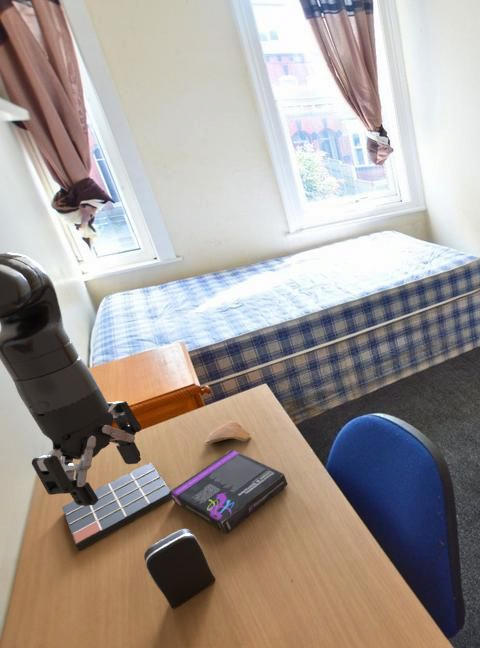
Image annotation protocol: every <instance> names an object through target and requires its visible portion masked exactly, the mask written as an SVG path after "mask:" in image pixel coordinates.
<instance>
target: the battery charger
mask: <svg viewBox="0 0 480 648" xmlns="http://www.w3.org/2000/svg"><path fill="white" fill-rule="evenodd" d="M144 561H145V562H144V563H145V567H146V570H147V572H148V574H149V576H150V577H151V579H152V581H153V582H154V584H155V585H156V586H157V588H158V589H159V591H160V592H161V594H162V595H163V597H164V598H165V600H166V602H167V603H168V605H169V607H170V608H171V609H175V608H177V607H178V606H180V605H182V604H184V603H185V602H186V601H188V600H190V599H191V598H192V597H195V596H196V595H198V594H199V593H200V592H201V591H203V590H205V589H206V588H208V587H209V586H210V585H212V584H213V583H215V582H216V575H215V574H214V572H213V570H212V568H211V566H210V564H209V562H208V559H207V556H206V554H205V552H204V549H203V548H202V546H201V544H200V542H199V540H198V538H197V537H196V536H195V534H194V533H193V532H192V531H191V530H190V529H188V528H181V529H178V530H176V531H175V532H173V533H171V534H169V535H167V536H166V537H163V538H162V539H160V540H159V541H157V542H155V543H153V544H152V545H150V546H149V547H147V549H146V550H145V552H144Z"/></svg>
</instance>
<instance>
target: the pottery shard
mask: <svg viewBox="0 0 480 648" xmlns="http://www.w3.org/2000/svg"><path fill="white" fill-rule="evenodd" d="M229 439H233V440H238V441H241V442H243V443H246V442H247V441H249V440H250V439H252V435H251V433H249V432H248V431H247V430H246V429H245V428H244V427H242V425H241V424H240V423H239V421H235V420H230V421H227V422H226V423H224V424H222V425H221V426H219V427H216V428H215V429H214V430H212V431H211V432H210V433H209V434H208V436H207V438H206V439H205V444H207V445H210V444H212V443H217V442H222V441H225V440H229Z"/></svg>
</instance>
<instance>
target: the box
mask: <svg viewBox="0 0 480 648" xmlns="http://www.w3.org/2000/svg"><path fill="white" fill-rule="evenodd" d="M286 478H287V477H286V476H285V473H283V472H281V471H279V470H276V469H274V468H272V467H270V466H268V465H266V464H264V463H261V462H259V461H258V460H256V459H253V458H251V457H249V456H247V455H244V454H242V453H241V452H238V451H236V450H234V449H230V450H228V451H227V452H226V453H225V454H223V455H222V456H220V457H219V458H217V459H216V460H214V461H213V462H211V463H210V464H208V465H207V466H205V467H204V468H202V469H201V470H200V471H197V473H195V474H194V475H192V476H191V477H189V478H188V479H186V480H185V481H184V482H182V483H180V484H179V485H177V486H176V487H174V488H172V489H170V490H171V491H170V492H169V493H170V495H171V497H172V501H173V502H174V503H175V504H177V505H178V506H180V507H182V508H184V509H186V510H187V511H188V512H189V513H192V514H194V515H195V516H197V517H199V518H200V519H201V520H203V521H205V522H207V523H209V524H210V525H212V526H213V527H214V528H216V529H218V530H220V531H222V532H223V533H225V534H226V535H227V534H228V533H230V532H231V531H232V530H234V528H236V527H237V526H238V525H239V524H240V523H242V522H243V521H244V520H245V519H247V518H248V517H249V516H250V515H252V514H253V513H254V512H256V511H257V510H258V509H260V507H262V506H263V505H264V504H265V503H267V502H268V501H270V499H272V498H273V497H274V496H276V494H278V493H279V492H280V491H281V490H283V489H284V488H286V487H287V486H288V481H287V479H286Z"/></svg>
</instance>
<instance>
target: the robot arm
mask: <svg viewBox="0 0 480 648" xmlns="http://www.w3.org/2000/svg"><path fill="white" fill-rule="evenodd" d="M63 321H64V320H63V314H62V310H61V307H60V303H59V299H58V294H57V291H56V288H55V285H54V282H53V281H52V278H51V277H50V275H49V274H48V272H47V271H46V270H45V269H44V267H43V266H42V265H40V264H39V263H38V262H36V261H35V260H34V259H32V258H30V257H28V256H26V255H24V254H23V255H22V254H19V253H13V252H12V253H11V252H5V253H0V362H1V363H2V364H3V366H4V367H5V369H6V371H7V373H8V374H9V376H10V378H11V379H12V381H13V383H14V385H15V389H16V391H17V393H18V395H19V397H20V400H22V402H23V404H24V406H25V407H26V409H27V410H28V412H29V414H30V415H31V416H32V418H33V420H34V422H35V423H36V425H37V427H38V428H39V430H40V431H41V433H42V435H44V436H45V437H46V438H48V439H49V440H51V443H52V449H51V450H50V451H49V452H48V453H46V454H44V455H42V456H36V457H34V458H33V459H32V460H31V465H32V467H33V470H34V471H35V473H36V474H37V476H38V478H39V481H40V482H41V483H42V485H43V487H44V489H45V491H46V492H47V493H46V494H48V495H49V496H52V495H53V496H54V495H62V494H63V495H65V494H66V495H67V494H70V496H71V498H72V499H73V501H75V502H76V504H77V505H79V506H80V505H83V506H89V505H94V504H96V503H97V502H98V501H99V499H98V498H97V496H96V494H95V493H94V491H95V490H94V489H93V488H92V486H91V485H90V483H89V482H88V481H87V476H88V474H87V473H88V470H89V469H90V468H91V467H92V461H93V458H95V457H96V456H97V455H98V454H99V453H100V452H101V450H103V449H105V448H107V447H108V446H109V445H111V443H112V444H117V445H116V446H115V448H116V449H117V451H118V453H119V455H120V457H121V459H122V460H123V462H124V463H125V465H137V464H138V463H139V462H141V460H142V458H141V452H140V450H139V447H138V446H137V444H136V442H135V439H136V437H135V436H136V434H137V433H140V432H141V430H142V425H141V423H140V422H139V420H138V419H137V417H136V415H135V413H134V412H133V410H132V408H131V406H130V405H129V404H128V402H127V401H124V400H123V401H115V402H114V401H113V402H108V401H107V400H106V397H105V396H104V394H103V393H102V390H101V388H100V387H99V385H98V382H97V381H96V379H95V378H94V376H93V374H92V372H91V370H90V369H89V367H88V365H87V364H86V363H85V362H84V361H83V359H82V358H81V356H80V354H79V353H78V351H77V349H76V347H75V345H74V343H73V342H72V339H71V337H70V336H69V335H68V333H67V332H66V330H65V326H64V322H63ZM114 423H115V424H116V426H117V427H118V428H116V427H113V425H114ZM74 460H77V461H78V460H80V461H79V463H77V464H75V463H74ZM74 475H75V476H74Z"/></svg>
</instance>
